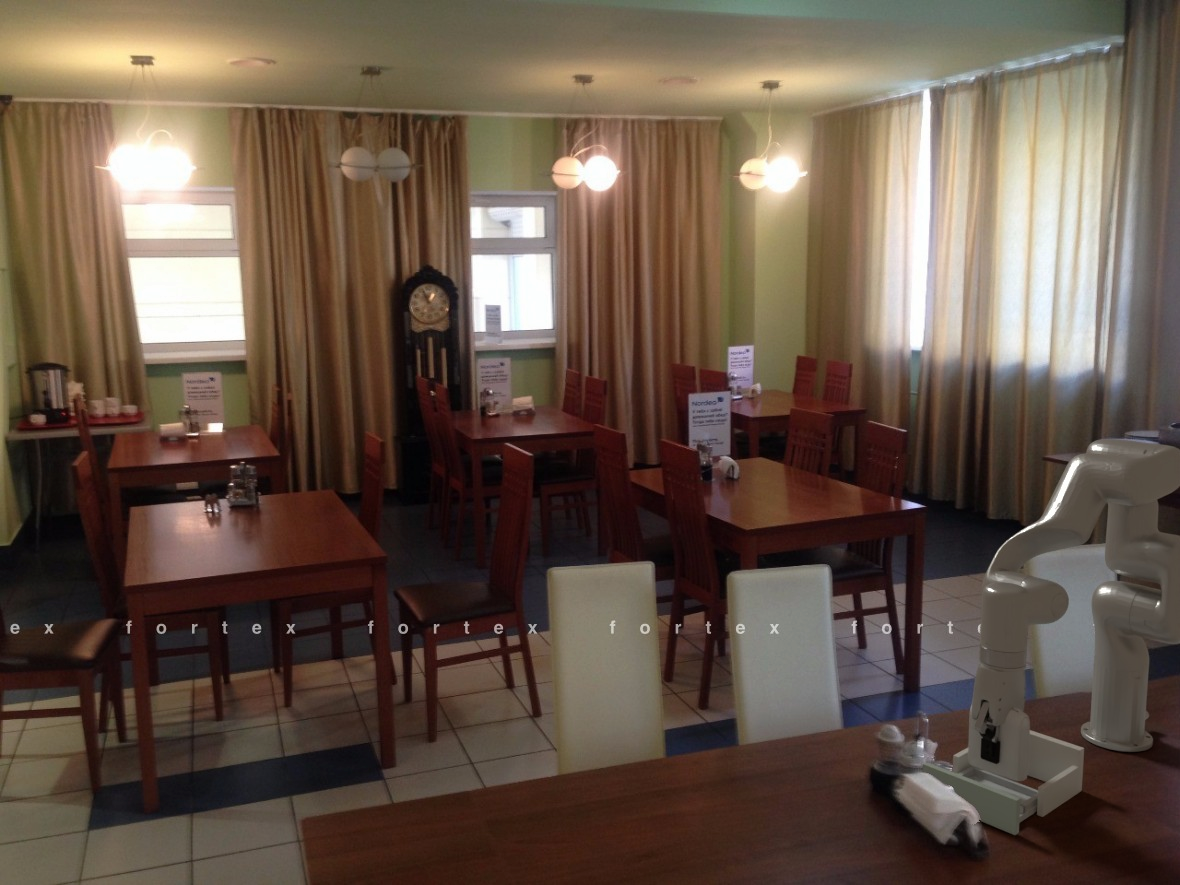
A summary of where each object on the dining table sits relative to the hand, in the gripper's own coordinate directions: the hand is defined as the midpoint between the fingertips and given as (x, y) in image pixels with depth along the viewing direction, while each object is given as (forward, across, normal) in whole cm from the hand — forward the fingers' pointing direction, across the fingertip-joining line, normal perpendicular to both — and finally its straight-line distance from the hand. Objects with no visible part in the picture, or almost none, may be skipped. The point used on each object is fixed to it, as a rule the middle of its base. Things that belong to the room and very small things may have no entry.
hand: (997, 755), depth 178 cm
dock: (+8, -7, 0) cm, 11 cm away
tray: (+8, +3, 0) cm, 8 cm away
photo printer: (+3, 0, 0) cm, 3 cm away
